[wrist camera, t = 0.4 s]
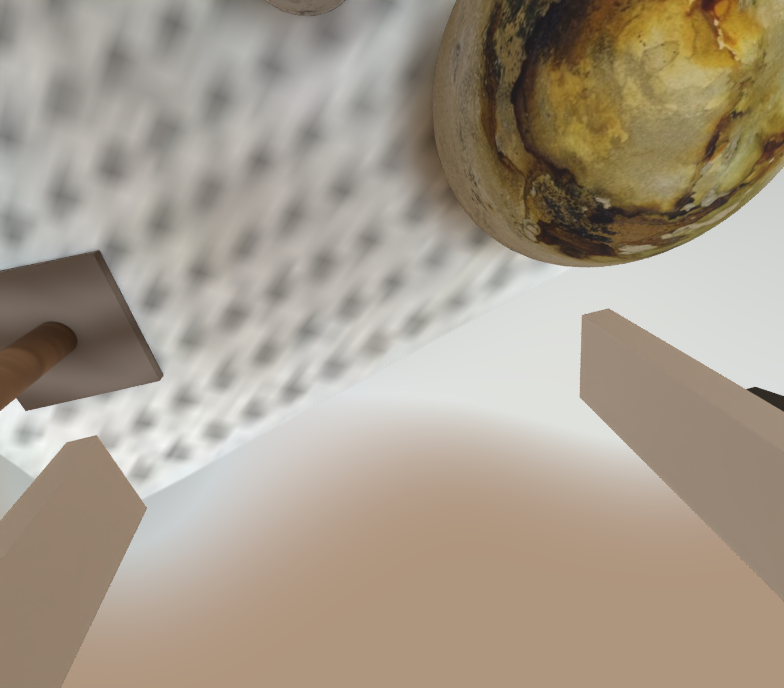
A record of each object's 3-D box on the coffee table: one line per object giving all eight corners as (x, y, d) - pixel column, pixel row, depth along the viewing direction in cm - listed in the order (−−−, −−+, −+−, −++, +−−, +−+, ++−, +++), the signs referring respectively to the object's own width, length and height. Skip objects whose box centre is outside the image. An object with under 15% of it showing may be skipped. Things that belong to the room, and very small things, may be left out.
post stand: (-55, 282, 32) (-220, 343, 22) (99, 250, 33) (4, 296, 23) (32, 404, 38) (-69, 496, 28) (163, 375, 38) (108, 455, 29)
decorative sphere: (487, -127, 26) (820, -672, 9) (691, 42, 33) (1128, -75, 15) (364, 173, 33) (411, 208, 16) (552, 266, 39) (739, 368, 22)
